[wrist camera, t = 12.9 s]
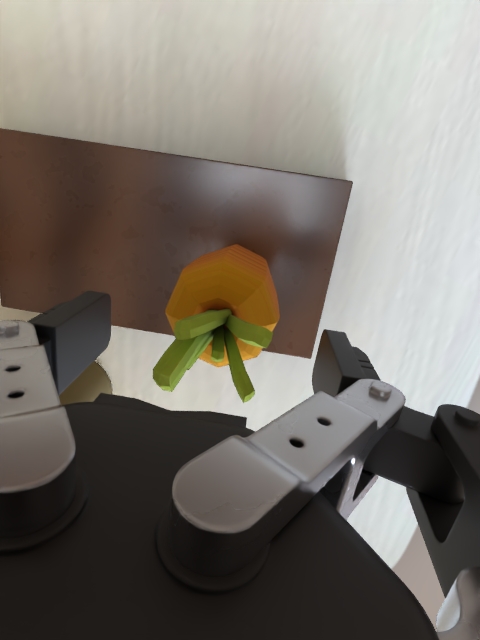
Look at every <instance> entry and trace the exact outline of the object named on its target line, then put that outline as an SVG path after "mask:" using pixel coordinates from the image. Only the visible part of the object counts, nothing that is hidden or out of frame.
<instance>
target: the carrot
mask: <svg viewBox="0 0 480 640" xmlns="http://www.w3.org/2000/svg"><path fill="white" fill-rule="evenodd" d="M165 313H166V316H167V318H168V320H169V323H170V325H171V327H172V330H173V332H174V334H175V338H176V339H175V341H174V342H173V343H172V344H171V345H170V347H169V348H168V349H167V350H166V351H165V353H164V354H163V356H162V357H161V358H160V360H159V361H158V363H157V364H156V366H155V367H154V369H153V379H154V380H155V382H156V384H157V385H158V386H159V387H161V388H162V389H163V390H166V391H171V392H172V391H173V390H174V388H175V387H176V385H177V384H178V382H179V381H180V379H181V378H182V376H183V375H184V373H185V371H186V370H189V369H190V368H191V367H192V365H193V364H194V363H195V362H196V360H197V359H198V358H199V359H201V360H203V361H206V362H208V363H210V364H212V365H214V366H216V367H221V366H225V365H229V366H230V371H231V375H232V379H233V382H234V385H235V387H236V389H237V392H238V394H239V396H240V398H241V399H242V401H243V403H244V402H247V401H249V400H250V399H251V398H252V397H253V396H254V394H255V390H254V388H253V385H252V383H251V380H250V378H249V376H248V374H247V372H246V370H245V367H244V364H243V361H244V360H248V359H251V358H255V357H257V356H258V355H259V354H260V352H261V350H262V348H267V347H268V345H269V344H270V342H271V340H272V335H273V332H272V331H273V329H274V327H275V326H276V324H277V322H278V320H279V318H280V314H279V303H278V298H277V293H276V289H275V286H274V283H273V280H272V277H271V274H270V270H269V267H268V264H267V261H266V259H264V258H263V257H261V256H259V255H257V254H255V253H253V252H251V251H250V250H248V249H246V248H244V247H242V246H240V245H238V244H234V245H231V246H228V247H225V248H223V249H220V250H217V251H214V252H211V253H208V254H205V255H202V256H201V257H199V258H197V259H196V260H194V261H193V262H191V263H190V264H189V265H188V266H186V267H185V268H184V269H183V270H182V272H181V274H180V277H179V279H178V281H177V284H176V286H175V288H174V290H173V293H172V295H171V297H170V300H169V302H168V304H167V307H166V309H165Z"/></svg>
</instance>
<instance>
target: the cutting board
mask: <svg viewBox="0 0 480 640" xmlns="http://www.w3.org/2000/svg"><path fill="white" fill-rule="evenodd" d="M352 184H353V182H352V181H347V180H341V179H334V178H327V177H321V176H314V175H307V174H301V173H294V172H287V171H281V170H274V169H267V168H261V167H254V166H248V165H241V164H234V163H228V162H221V161H214V160H208V159H201V158H194V157H188V156H181V155H174V154H168V153H161V152H154V151H148V150H141V149H134V148H128V147H121V146H114V145H108V144H101V143H95V142H88V141H81V140H75V139H68V138H61V137H55V136H48V135H41V134H35V133H28V132H21V131H15V130H8V129H1V128H0V295H1V305H2V306H3V307H8V308H14V309H20V310H26V311H32V312H38V313H43V312H45V311H47V310H50V308H52V307H54V306H56V305H57V304H60V303H63V302H67V301H71V300H72V299H74V298H76V297H78V296H79V295H81V294H83V293H84V292H86V291H95V292H101V293H107V294H109V295H110V297H111V325H115V326H120V327H126V328H132V329H138V330H144V331H150V332H156V333H162V334H168V335H173V336H175V334H174V332H173V330H172V327H171V325H170V323H169V320H168V318H167V316H166V313H165V309H166V307H167V304H168V302H169V300H170V297H171V295H172V293H173V290H174V288H175V286H176V284H177V281H178V279H179V277H180V274H181V272H182V270H183V269H184V268H185V267H186V266H188V265H189V264H190V263H191V262H193V261H194V260H196V259H197V258H199V257H201V256H202V255H205V254H208V253H211V252H214V251H217V250H220V249H223V248H225V247H228V246H231V245H234V244H238V245H240V246H242V247H244V248H246V249H248V250H250V251H251V252H253V253H255V254H257V255H259V256H261V257H263V258H264V259H266V261H267V264H268V267H269V270H270V274H271V277H272V280H273V283H274V286H275V289H276V293H277V298H278V303H279V314H280V318H279V320H278V322H277V324H276V326H275V327H274V329H273V331H272V332H273V335H272V340H271V342H270V344H269V345H268V347H267V348H262V351H268V352H274V353H279V354H285V355H291V356H297V357H303V358H309V359H311V356H312V352H313V348H314V344H315V340H316V335H317V331H318V327H319V323H320V319H321V314H322V310H323V306H324V302H325V297H326V293H327V289H328V285H329V281H330V276H331V272H332V268H333V264H334V260H335V255H336V251H337V247H338V243H339V239H340V234H341V230H342V226H343V222H344V218H345V213H346V209H347V205H348V201H349V196H350V192H351V188H352Z"/></svg>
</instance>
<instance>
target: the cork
mask: <svg viewBox="0 0 480 640" xmlns="http://www.w3.org/2000/svg"><path fill="white" fill-rule="evenodd" d="M100 393H106V394H112V387H111V381H110V379H109V377H108V376H107V374H106V372H105V371H104V370H103V369H102V368H101V367H100V366H99V365H98V364H97V363H96V362H94V361H93V362H92V363H91V364H90V365H89V366H88V367H87V368H86V369H85V370H84V371H83V372H82V373H81V374H80V375H79V376H78V377H77V378H76V379H75V380H74V381H73V382H72V383H71V384H70V385H69V386H68V387H67V388H66V389H65V390H64V391H63V392H62V393H61V394H60V395H59V396H58V397H59V400H60V404H61V405H65V404H70V403H77V402H94V400H95V399H96V398H97V397H98V395H99V394H100Z"/></svg>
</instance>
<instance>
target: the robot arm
mask: <svg viewBox="0 0 480 640" xmlns="http://www.w3.org/2000/svg"><path fill="white" fill-rule="evenodd" d="M110 336H111V297H110V295H109V294H107V293H101V292H95V291H86V292H84V293H83V294H81V295H79V296H78V297H76V298H74V299H72V300H71V301H67V302H63V303H60V304H57V305H56V306H54V307H52V308H50V310H47V311H45V312H43V314H40V315H38V316H36V317H34V318H33V319H31V320H29V321H27V322H26V321H20V320H3V321H0V640H480V414H478V413H476V412H474V411H471V410H469V409H467V408H464V407H461V406H457V405H451V404H444V405H441V406H439V407H438V409H437V411H436V414H435V416H434V417H433V416H430V415H427V414H424V413H421V412H418V411H415V410H413V409H410V408H408V407H406V406H404V404H405V400H406V399H405V396H404V395H403V393H402V392H401V391H400V390H398V389H397V388H395V387H394V386H392V385H390V384H388V383H385V382H382V381H381V380H380V378H379V377H378V375H377V373H376V371H375V370H374V367H373V366H372V364H371V363H370V360H369V358H368V356H367V355H366V354H365V353H364V352H362V351H361V350H360V349H359V348H357V347H352V346H351V344H350V342H349V340H348V338H347V336H346V334H345V333H344V332H338V331H332V330H326V329H325V330H324V331H323V333H322V336H321V340H320V344H319V348H318V352H317V356H316V360H315V364H314V368H313V375H312V385H313V390H314V395H313V396H311V397H309V398H308V399H306V400H305V401H303V402H302V403H300V404H298V405H297V406H295V407H294V408H292V409H291V410H289V411H288V412H286V413H284V414H283V415H281V416H280V417H278V418H277V419H275V420H273V421H272V422H270V423H269V424H267V425H266V426H264V427H262V428H261V429H259V430H258V431H256V432H255V431H253V430H251V429H248V428H246V420H247V418H246V417H240V416H234V415H228V414H223V413H217V412H211V411H170V410H167V409H164V408H161V407H158V406H155V405H152V404H150V403H147V402H144V401H141V400H138V399H135V398H129V397H123V396H117V395H111V394H106V393H100V394H99V395H98V397H97V398H96V399H95V400H94V402H77V403H70V404H65V405H61V404H60V400H59V397H58V396H59V395H60V394H61V393H62V392H63V391H64V390H65V389H66V388H67V387H68V386H69V385H70V384H71V383H72V382H73V381H74V380H75V379H76V378H77V377H78V376H79V375H80V374H81V373H82V372H83V371H84V370H85V369H86V368H87V367H88V366H89V365H90V364H91V363H92V362H93V361H94V360H95V359H96V358H97V357H98V356H99V355H100V354H101V353H102V352H103V351H104V350H105V349H106V348H107V346H108V344H109V341H110ZM378 476H381V477H383V478H386V479H388V480H391V481H393V482H395V483H398V484H400V485H403V486H405V487H406V491H407V494H408V497H409V500H410V503H411V505H412V508H413V511H414V514H415V516H416V519H417V522H418V525H419V527H420V530H421V533H422V535H423V538H424V541H425V544H426V546H427V549H428V552H429V555H430V558H431V560H432V563H433V566H434V569H435V571H436V574H437V577H438V580H439V583H440V585H441V588H442V591H443V593H444V596H445V601H444V603H443V605H442V606H441V608H440V610H439V612H438V614H437V618H436V629H437V632H436V631H435V629H434V627H433V624H432V623H431V621H430V619H429V617H428V616H427V614H426V612H425V610H424V609H423V607H422V606H421V604H420V603H419V602H418V600H417V599H416V597H415V596H414V594H413V593H412V592H411V591H410V590H409V589H408V587H407V586H406V585H405V584H404V583H403V582H402V581H401V579H400V578H399V577H398V576H397V575H396V574H395V573H394V572H393V571H392V570H391V569H390V567H389V566H388V565H387V564H386V563H385V562H384V561H383V560H382V559H381V558H380V557H379V555H378V554H377V553H376V552H375V551H374V550H373V549H372V548H371V547H370V546H369V545H368V544H367V542H366V541H365V540H364V539H363V538H362V537H361V536H360V535H359V534H358V533H357V532H356V530H355V529H354V528H353V527H352V526H351V525H350V524H349V523H348V522H347V521H346V520H347V518H348V517H349V515H350V514H351V512H352V511H353V510H354V509H355V507H356V506H357V505H358V504H359V502H360V501H361V500H362V498H363V497H364V496H365V495H366V493H367V492H368V491H369V489H370V488H371V487H372V486H373V484H374V483H375V482H376V480H377V479H378Z"/></svg>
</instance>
